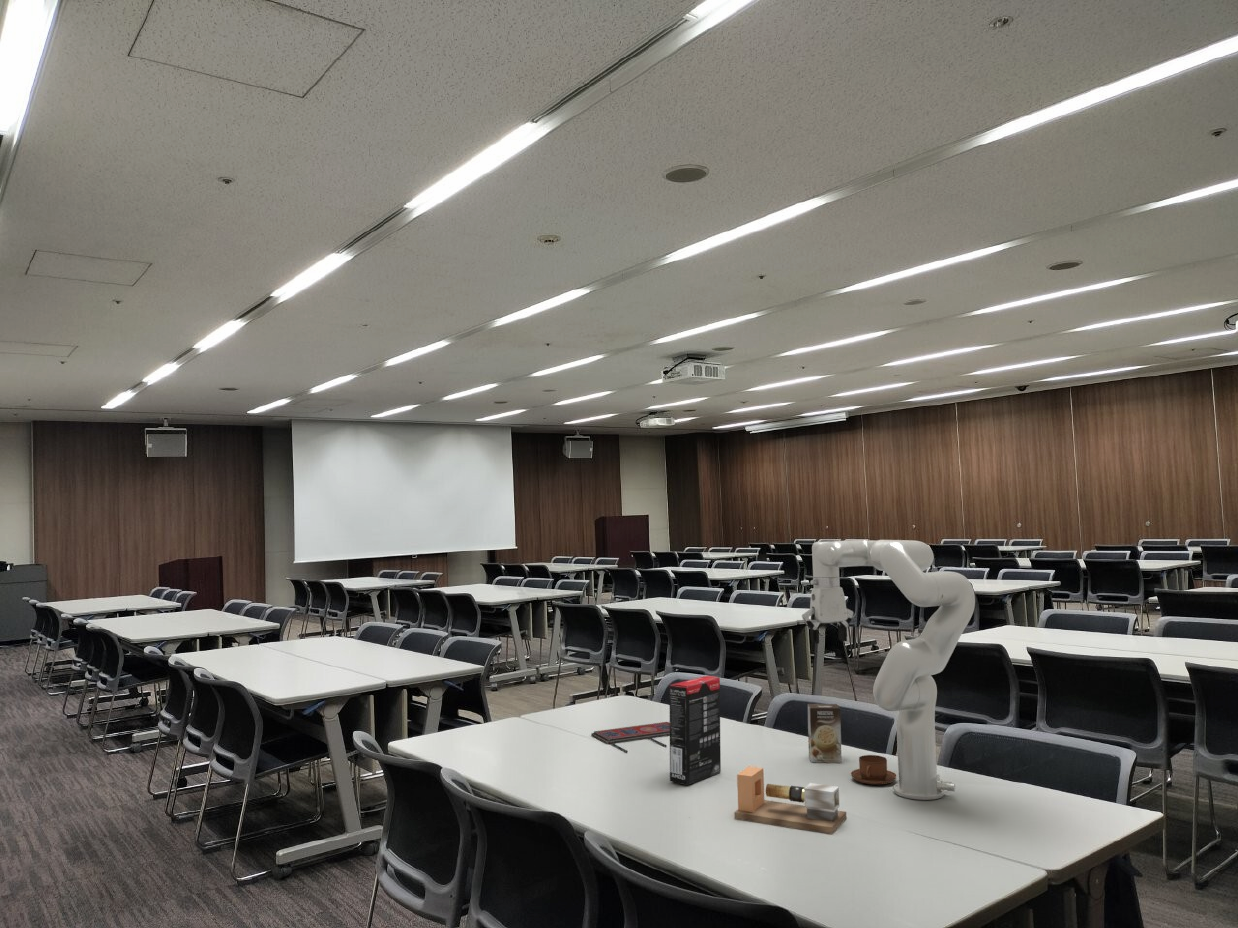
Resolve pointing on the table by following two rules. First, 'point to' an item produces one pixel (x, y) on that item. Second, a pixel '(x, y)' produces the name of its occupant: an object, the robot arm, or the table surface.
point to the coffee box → (824, 733)
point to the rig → (802, 811)
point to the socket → (750, 789)
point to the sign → (633, 733)
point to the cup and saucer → (873, 770)
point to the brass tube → (788, 792)
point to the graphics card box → (694, 729)
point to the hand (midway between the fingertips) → (829, 641)
